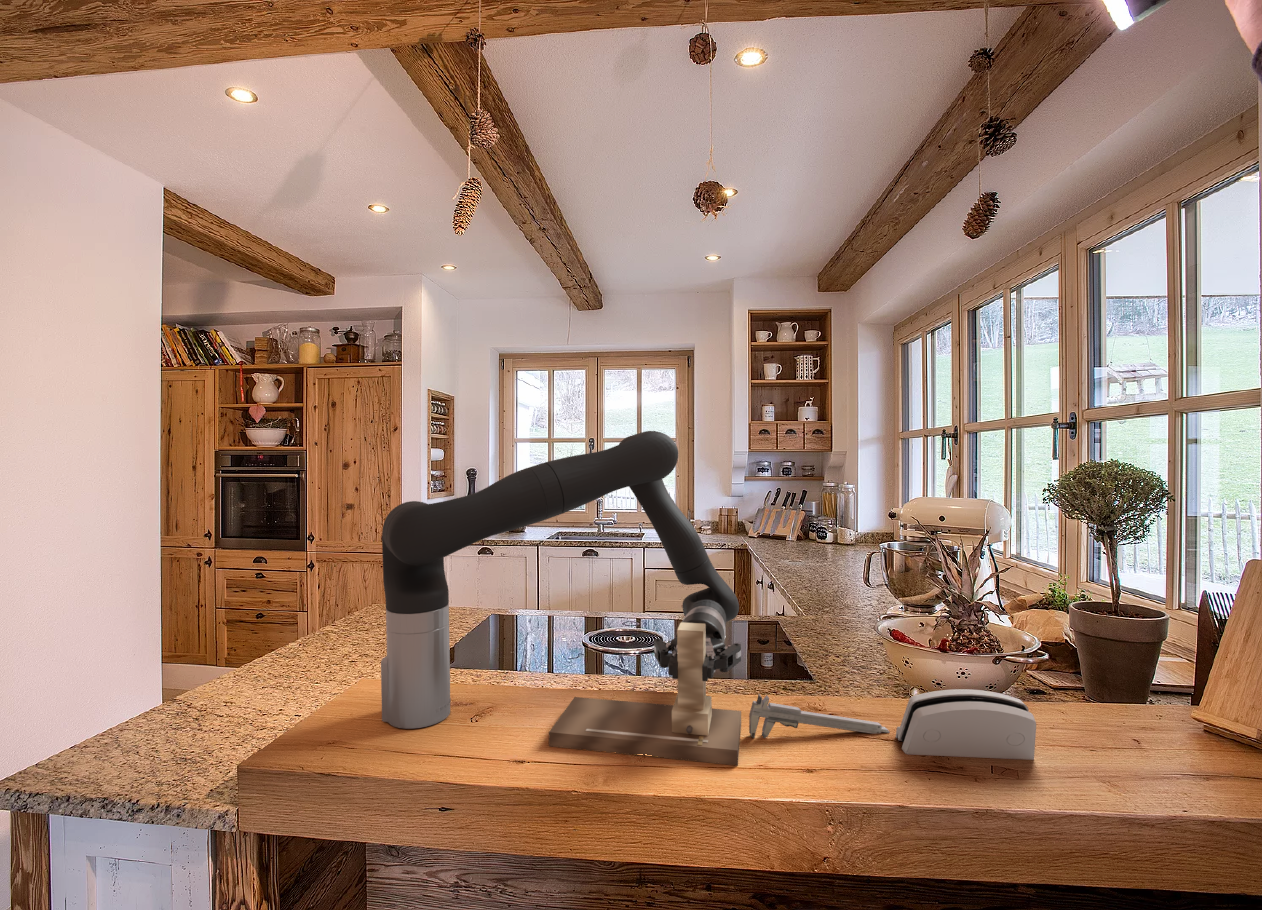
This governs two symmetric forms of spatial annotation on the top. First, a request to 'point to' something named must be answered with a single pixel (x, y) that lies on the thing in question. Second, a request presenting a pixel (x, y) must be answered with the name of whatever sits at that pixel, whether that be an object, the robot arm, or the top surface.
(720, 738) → the board
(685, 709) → the beige tall block
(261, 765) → the top surface
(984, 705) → the grey toaster
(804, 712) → the caliper
